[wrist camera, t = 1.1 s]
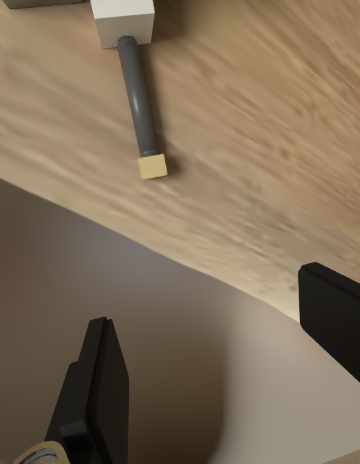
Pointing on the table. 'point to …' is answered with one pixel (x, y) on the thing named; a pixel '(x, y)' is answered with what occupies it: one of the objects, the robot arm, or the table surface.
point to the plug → (132, 68)
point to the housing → (37, 3)
